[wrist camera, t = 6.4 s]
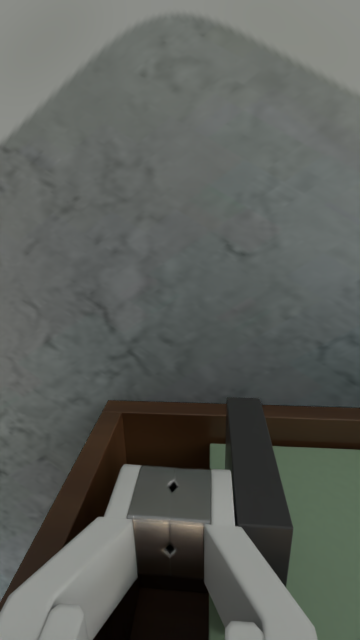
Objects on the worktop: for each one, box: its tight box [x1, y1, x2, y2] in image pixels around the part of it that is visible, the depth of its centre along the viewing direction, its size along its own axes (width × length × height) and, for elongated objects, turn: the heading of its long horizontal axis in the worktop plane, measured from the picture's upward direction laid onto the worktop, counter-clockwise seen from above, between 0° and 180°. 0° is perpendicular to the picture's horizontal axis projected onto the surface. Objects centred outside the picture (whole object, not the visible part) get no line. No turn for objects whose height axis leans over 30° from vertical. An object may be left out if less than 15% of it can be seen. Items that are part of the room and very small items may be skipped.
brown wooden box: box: [0, 400, 360, 640], centre depth 12 cm, size 13×19×11 cm
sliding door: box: [209, 398, 360, 640], centre depth 10 cm, size 5×8×9 cm, turn 91°
